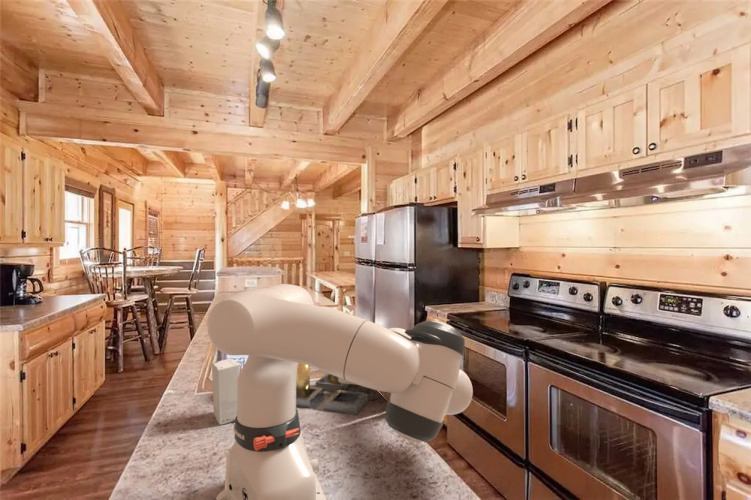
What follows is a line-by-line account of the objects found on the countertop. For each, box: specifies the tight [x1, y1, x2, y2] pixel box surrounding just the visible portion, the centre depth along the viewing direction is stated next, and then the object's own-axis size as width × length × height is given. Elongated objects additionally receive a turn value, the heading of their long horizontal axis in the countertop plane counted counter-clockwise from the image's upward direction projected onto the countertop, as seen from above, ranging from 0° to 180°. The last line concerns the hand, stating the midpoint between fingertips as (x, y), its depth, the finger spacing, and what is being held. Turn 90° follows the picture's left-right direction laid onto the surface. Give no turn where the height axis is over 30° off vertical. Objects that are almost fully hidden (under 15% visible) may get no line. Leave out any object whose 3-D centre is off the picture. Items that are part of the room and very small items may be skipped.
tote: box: [315, 373, 351, 392], centre depth 123 cm, size 9×9×3 cm
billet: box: [327, 373, 342, 385], centre depth 123 cm, size 4×4×12 cm
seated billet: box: [296, 363, 311, 398], centre depth 112 cm, size 4×4×12 cm
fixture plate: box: [296, 385, 369, 416], centre depth 111 cm, size 24×11×3 cm, turn 74°
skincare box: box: [211, 358, 240, 426], centre depth 103 cm, size 8×6×15 cm
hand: (335, 365), depth 123 cm, fingers open, 8 cm apart
